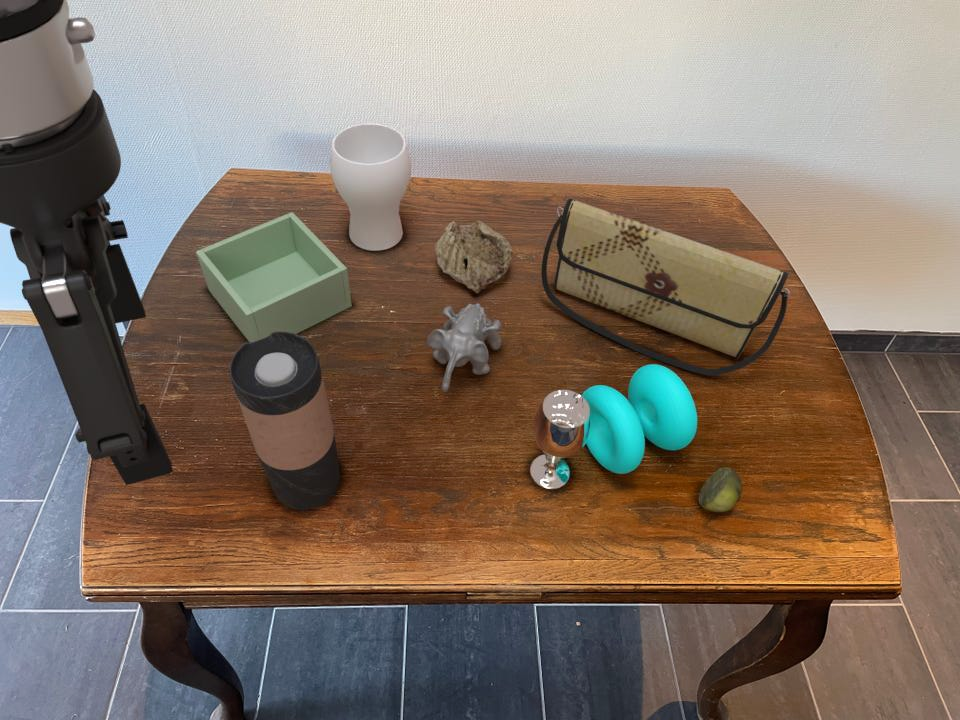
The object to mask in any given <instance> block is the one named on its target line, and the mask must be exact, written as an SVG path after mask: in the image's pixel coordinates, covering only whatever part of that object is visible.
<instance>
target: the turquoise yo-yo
mask: <svg viewBox="0 0 960 720" xmlns="http://www.w3.org/2000/svg"><path fill="white" fill-rule="evenodd" d="M581 396H582V397H583V398H584V399H585V400H586V401H587V403H588V405H589V409H590V416H591V426H590V434H589V437H588V440H587V442H586V444H585V445H586V446H587V448H588V450H589V452H590V453H591V454H592V456H593V457H594V459H595V460H596V461H597V462H598V463H599V464H600V465H601V466H602V467H603V468H605V469H606V470H607V471H610V472H611V473H615V474H620V475H623V474H629V473H632V472H633V471H634V470H636V469H637V468H638V467H639V466H640V464H641V462H642V460H643V458H644V455H645V449H646V439H647V440H648V441H649V442H650V443H652V444H653V445H655V446H656V447H658V448H660V449H663V450H667V451H679V450H682V449H684V448H686V447H688V446H689V445H690V444H691V443H692V441H693V440H694V438H695V437H696V434H697V430H698V429H697V428H698V413H697V408H696V403H695V401H694V399H693V396H692V394H691V392H690V390H689V388H688V387H687V386H686V384H685V383H684V380H683V379H681V378H680V377H679V375H677V373H675V372H674V371H673V370H671V369H670V368H668V367H666V366H664V365H661V364H657V363H652V364H646V365H643V366H641V367H639V368H638V369H637V370H635V372H634V373H633V374H632V376H631V378H630V380H629V383H628V388H627V397H626V396H625V395H623V394H622V393H621V392H620V391H618V390H617V389H615V388H613V387H611V386H609V385H604V384H596V385H593V386H590V387H588V388H586V390H584V391H583V393H582V394H581Z"/></svg>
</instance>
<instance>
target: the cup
mask: <svg viewBox="0 0 960 720" xmlns="http://www.w3.org/2000/svg"><path fill="white" fill-rule="evenodd" d="M330 147H331V148H330V153H329V167H330V174H331V175H330V176H331V179H332V181H333V184H334V186H335V187H336V190H337V192H338V194H339V196H340V197H341V198H342V199H343V201H344V202H345V204H346V205H347V208H348V211H349V214H350V216H349V224H348V225H349V226H348V235H349V239H350V241H351V242H352V243H353V245H355V246H356V247H358V248H360V249H362V250H366V251H373V252H375V251H377V252H378V251H384V250H388V249H391V248H393V247H394V246H397V244H399V242H400V241H401V240H402V238H403V234H404V231H403V226H402V220H401V217H400V213H399V212H400V204H401V201H402V199H403V198H404V196H405V194H406V193H407V189H408V186H409V183H410V180H411V176H412V159H411V156H410V155H411V154H410V151H409V148H408V144H407V140H406V139H405V136H403V134H402V133H401V132H400V131H399V130H397V129H396V128H394V127H391V126H389V125H386V124H382V123H374V122H368V123H367V122H364V123H357V124H353V125H350V126H347V127H345V128H343V129H341V130H340V131H339V132H338V133H336V135H335V136H334V137H333V139H332V141H331V146H330Z"/></svg>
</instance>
